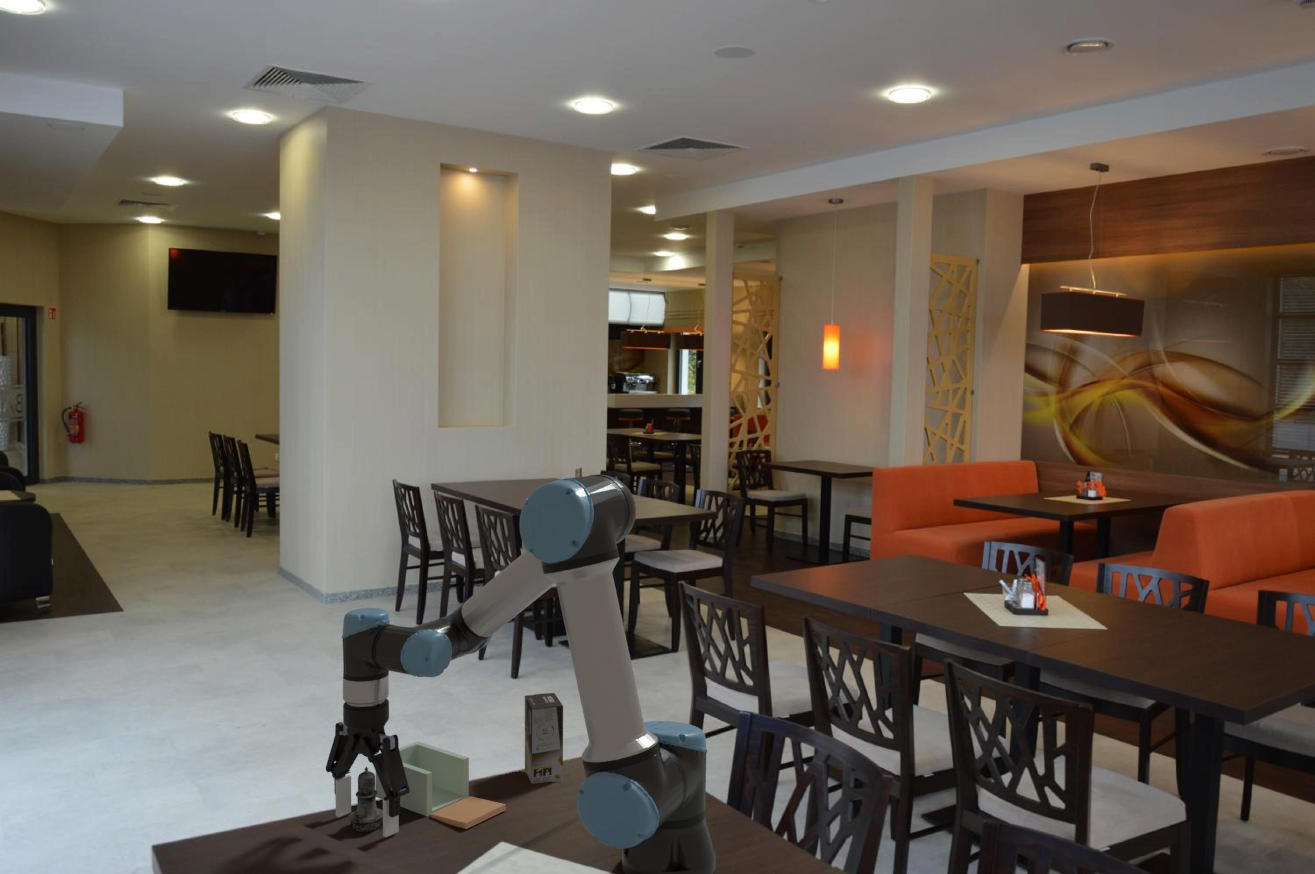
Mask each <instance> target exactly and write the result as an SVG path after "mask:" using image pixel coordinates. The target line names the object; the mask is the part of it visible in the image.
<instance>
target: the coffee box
mask: <svg viewBox="0 0 1315 874" xmlns="http://www.w3.org/2000/svg"><path fill="white" fill-rule="evenodd" d="M526 770H527V771H526ZM524 773H525V774H526V775H527V777H528V779H529V781H530V783H531V784H532V785H533V784H534V785H535V784H542V783H543V784H544V783H550V782H551V783H552V782H553V783H556V784H559V785H563V784H564V781H563V780H564V705H563V704H562V702H561V701H560V700H559V698H558V696H557V695H556V693H555V692H548V693H547V692H545V693H536V694H535V693H534V694H530V695H529V694H528V695H524Z"/></svg>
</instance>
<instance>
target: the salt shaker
mask: <svg viewBox="0 0 1315 874" xmlns="http://www.w3.org/2000/svg"><path fill="white" fill-rule="evenodd" d="M363 770H364V771H362V772H361V773H359V775H358V776H357V792H356V793H355V797H356V798H357V799H356V800H357V807H356V810H355V811H351V813H349V815H348V820H349V821H350V823H351V826H352V828H353V829H354V830H355V831H357V832H359V833H368V832H373V831H375V830H377V829H378V828H379V827H380V826H381V824H382V823H383V809H381V808H379V807H377V802H376V800H377V799H376V798H377V797H376V795H377V793H378V792H377V791H376V774H375V773H374V772H373V771H369V768H368V766H366V767H365V768H364V769H363Z"/></svg>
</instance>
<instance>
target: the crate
mask: <svg viewBox="0 0 1315 874" xmlns="http://www.w3.org/2000/svg"><path fill="white" fill-rule="evenodd" d="M399 751H400V755H401V759H402V763H403V767H404V770H405V774H406V778H407V782H408V786H409V789H410V792H409V793H408V794H405V795H403V796H401V797H400V808H404V809H406V810H408V811H411V812H414V813H417V814H420V815H422V816H425V817H429V816H430V814H431V813H434V812H436V811H438V810H440V809H443V808H445V807H447V806H449V805H452V804H454V803H456V802H459V801H461V800H463V799H465V798H468V797H470V793H469V792H470V785H469V784H470V782H469V781H470V780H469V779H470V778H469V777H470V768H469V767H470V764H469V762H470V758H469V756H465V755H462V754H460V753H459V754H458V753H455V752H453V751H450V750H446V749H443V748H441V747H436V746H434V745H430V744H427V743H425V742H421V741H415V742H413V743H410V744H407V745H404V746H401V747H399ZM374 771H375V790H376V791H377V792H378V793H377V795H376V798H378V799H379V800H380V799H381V800H382V801H383V798H384V797H386V794H385V792H384V789H383V787H382V785H381V782H380V780H379V777H378V775H377V773H376V770H375V769H374ZM401 788H402V787H401ZM391 790H392V788H391Z"/></svg>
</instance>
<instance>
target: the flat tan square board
mask: <svg viewBox="0 0 1315 874" xmlns="http://www.w3.org/2000/svg"><path fill="white" fill-rule="evenodd" d="M505 811H507V805H506V804H505V803H500V802H497V801H493V800H489V799H484V798H478V797H476V796H470V795H469V797H468V798H465V799H463V800H461V801H459V802H456V803H454V804H452V805H449V806H447V807H445V808H443V809H440V810H438V811H436V812H434V813H431V814H430V815H429V816H430V818H432V819H434V820H437V821H440V822H442V823H444V824H447V825H450V826H454V827H457V828H461V829H464V830H468V829H469V828H471V827H473V826H475V825H478V824H480V823H482V822H483V821H487V820H488V819H491V818H492V817H495V816H496V815H499V814H500V813H502V812H505Z"/></svg>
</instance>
